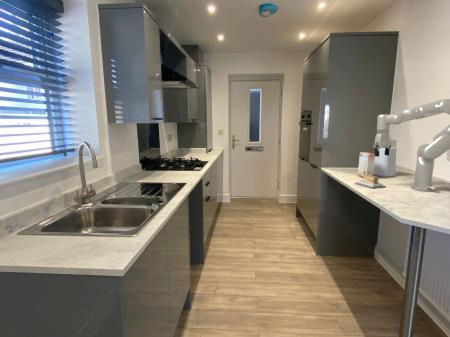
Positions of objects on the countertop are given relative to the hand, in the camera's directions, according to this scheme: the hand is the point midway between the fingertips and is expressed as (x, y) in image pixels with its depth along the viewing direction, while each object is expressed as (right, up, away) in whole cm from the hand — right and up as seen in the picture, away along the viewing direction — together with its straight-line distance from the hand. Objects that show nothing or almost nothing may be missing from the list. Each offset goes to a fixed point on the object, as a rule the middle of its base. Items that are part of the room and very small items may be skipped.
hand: (381, 155), depth 187 cm
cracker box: (+5, -17, +32) cm, 37 cm away
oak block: (-6, -21, +4) cm, 22 cm away
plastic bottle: (+26, -15, +41) cm, 51 cm away
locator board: (-6, -22, +4) cm, 23 cm away
